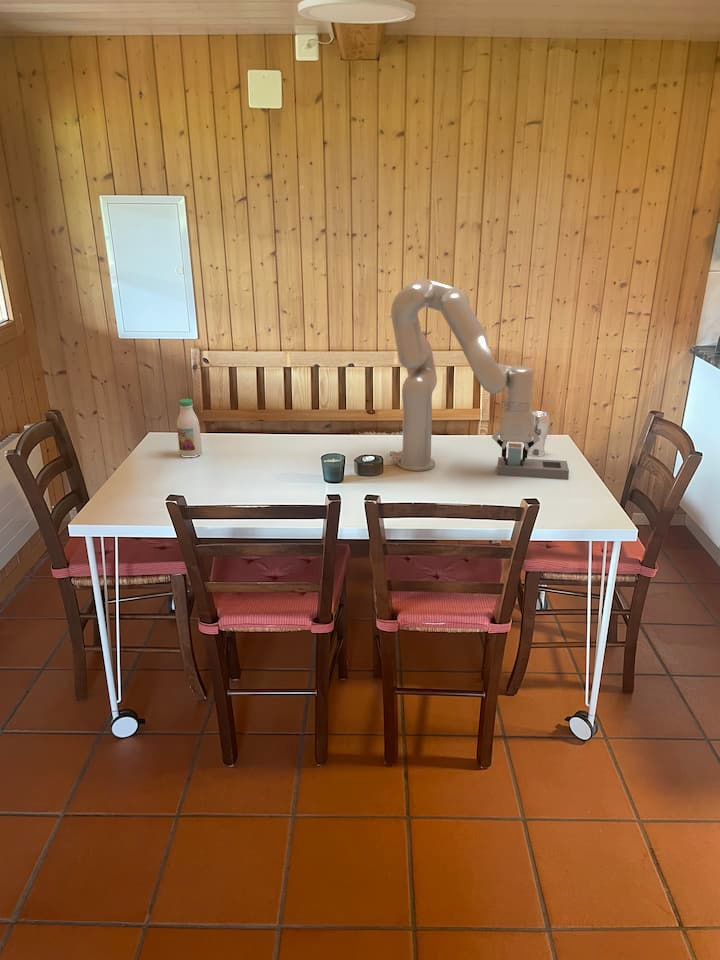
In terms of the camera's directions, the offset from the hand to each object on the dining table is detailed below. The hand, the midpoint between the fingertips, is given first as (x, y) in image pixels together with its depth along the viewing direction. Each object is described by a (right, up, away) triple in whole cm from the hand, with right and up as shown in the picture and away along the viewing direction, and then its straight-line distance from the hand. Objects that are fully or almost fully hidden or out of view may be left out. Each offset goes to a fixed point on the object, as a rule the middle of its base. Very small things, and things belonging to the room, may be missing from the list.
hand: (514, 459), depth 226 cm
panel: (+6, -5, +1) cm, 8 cm away
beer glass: (+11, +2, +18) cm, 21 cm away
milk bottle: (-110, +2, +21) cm, 112 cm away
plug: (0, -4, +2) cm, 4 cm away
